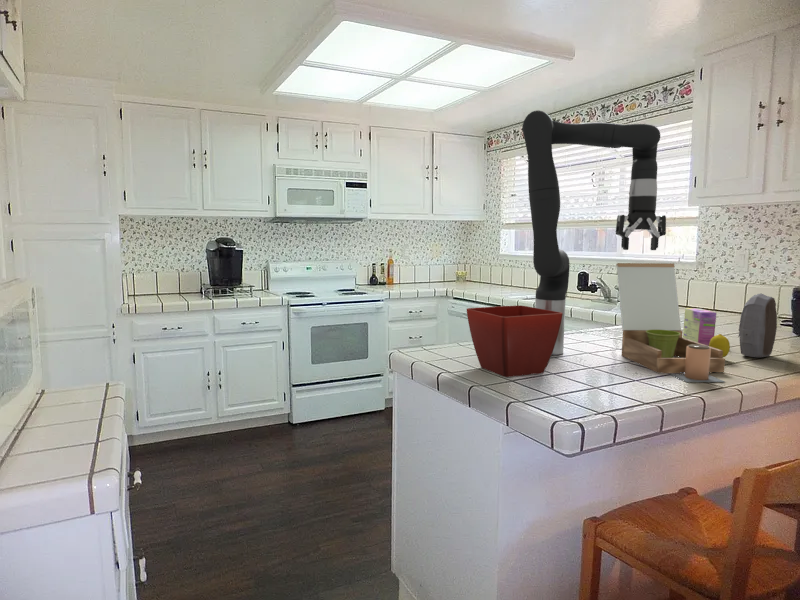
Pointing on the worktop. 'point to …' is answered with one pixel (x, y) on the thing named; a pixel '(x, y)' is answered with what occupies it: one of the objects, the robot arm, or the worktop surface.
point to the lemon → (720, 344)
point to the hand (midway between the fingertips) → (639, 250)
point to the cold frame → (650, 357)
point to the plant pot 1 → (514, 338)
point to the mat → (682, 377)
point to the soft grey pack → (758, 326)
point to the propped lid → (648, 296)
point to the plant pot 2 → (663, 341)
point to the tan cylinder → (697, 362)
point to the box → (699, 325)
